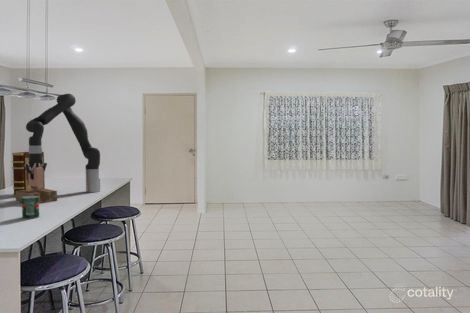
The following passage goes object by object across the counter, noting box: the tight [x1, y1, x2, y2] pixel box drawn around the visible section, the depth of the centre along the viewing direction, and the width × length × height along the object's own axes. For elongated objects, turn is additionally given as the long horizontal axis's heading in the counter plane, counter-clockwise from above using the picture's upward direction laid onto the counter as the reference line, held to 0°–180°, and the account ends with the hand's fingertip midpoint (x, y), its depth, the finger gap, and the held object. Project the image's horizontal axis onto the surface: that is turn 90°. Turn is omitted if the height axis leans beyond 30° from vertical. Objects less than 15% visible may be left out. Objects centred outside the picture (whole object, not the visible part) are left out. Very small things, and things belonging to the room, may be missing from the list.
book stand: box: [15, 188, 58, 204], centre depth 231 cm, size 16×20×6 cm
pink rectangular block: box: [28, 167, 45, 187], centre depth 230 cm, size 4×11×12 cm, turn 56°
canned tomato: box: [21, 196, 40, 220], centre depth 188 cm, size 8×8×11 cm
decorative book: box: [11, 151, 46, 198], centre depth 253 cm, size 22×8×30 cm, turn 168°
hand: (35, 178), depth 230 cm, fingers closed on pink rectangular block, 4 cm apart
